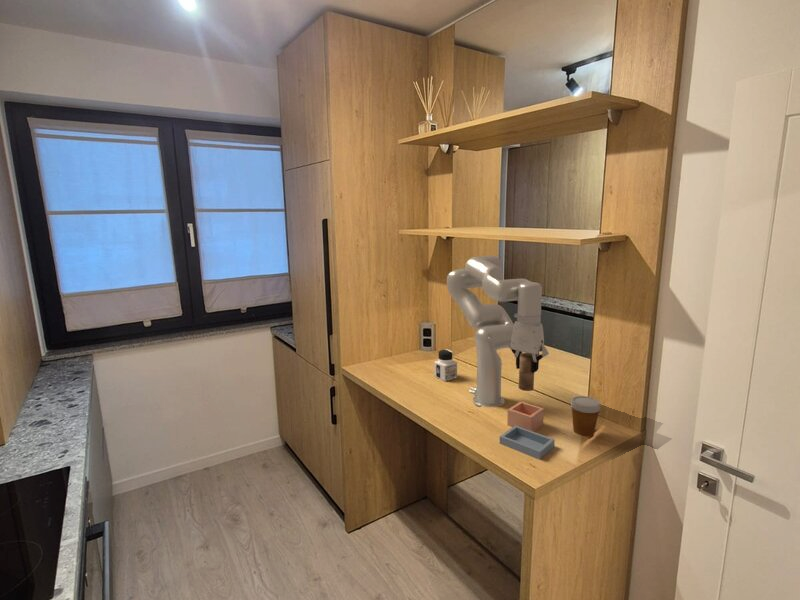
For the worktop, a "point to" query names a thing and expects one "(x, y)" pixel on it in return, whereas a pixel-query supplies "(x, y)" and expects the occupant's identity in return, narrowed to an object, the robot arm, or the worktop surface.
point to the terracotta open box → (525, 416)
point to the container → (445, 366)
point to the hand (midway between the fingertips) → (526, 369)
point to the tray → (527, 442)
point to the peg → (526, 372)
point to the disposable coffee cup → (585, 415)
